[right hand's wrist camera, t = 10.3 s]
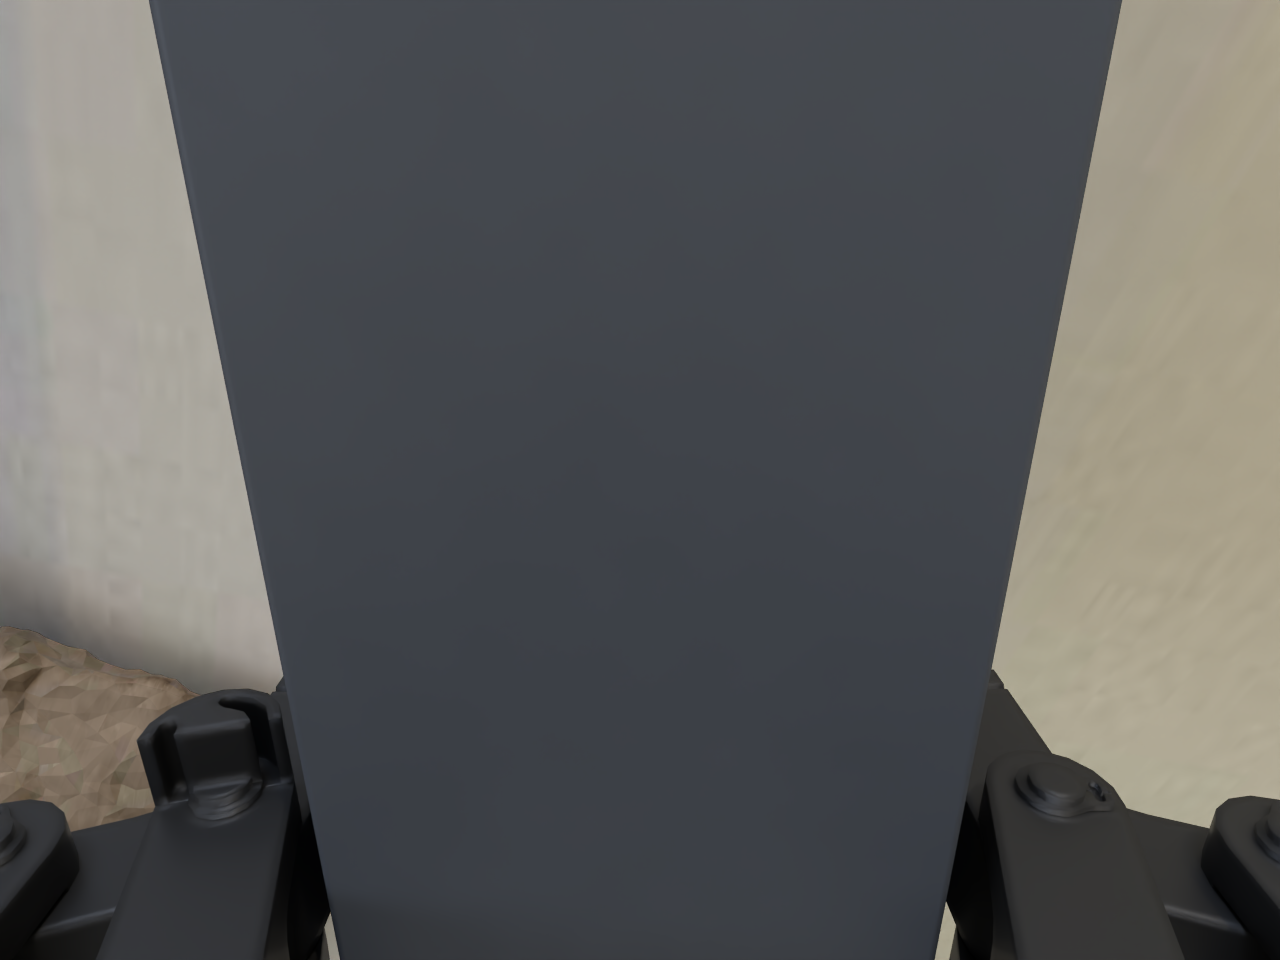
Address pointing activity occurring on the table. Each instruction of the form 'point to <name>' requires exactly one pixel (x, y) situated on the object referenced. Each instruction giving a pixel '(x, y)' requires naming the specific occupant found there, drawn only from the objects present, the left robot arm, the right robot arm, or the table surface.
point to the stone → (76, 729)
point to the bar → (636, 441)
